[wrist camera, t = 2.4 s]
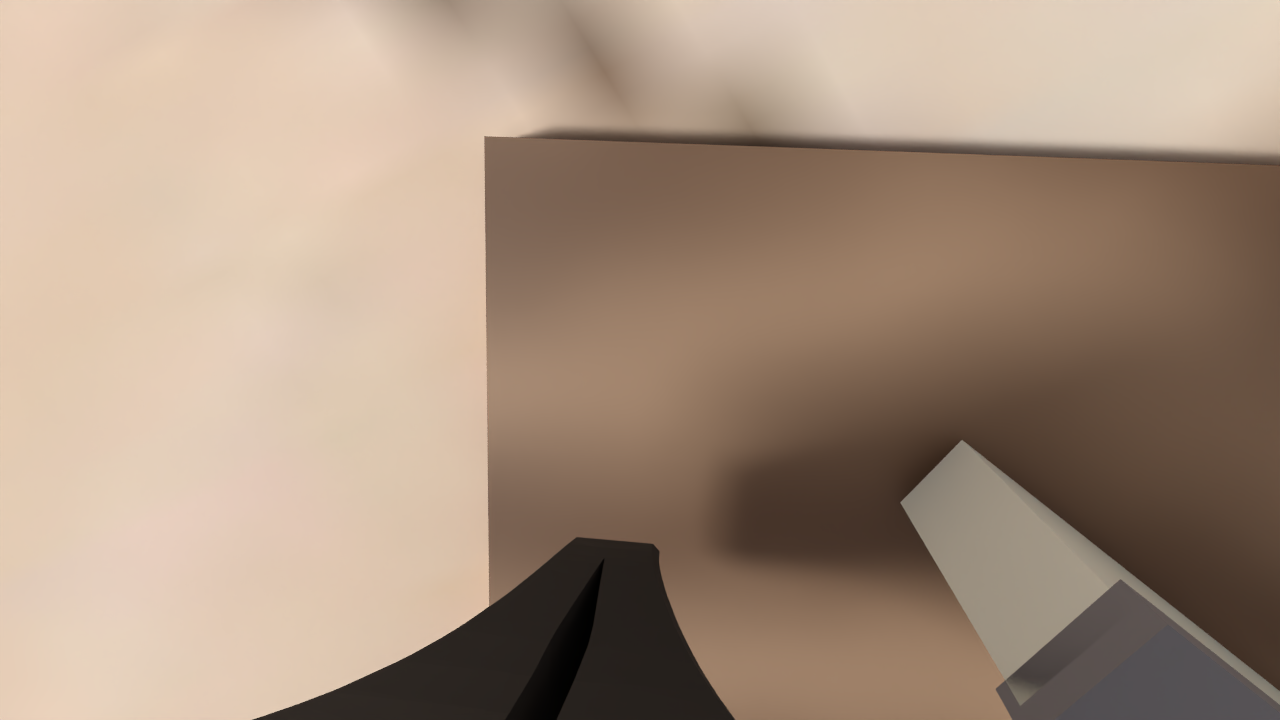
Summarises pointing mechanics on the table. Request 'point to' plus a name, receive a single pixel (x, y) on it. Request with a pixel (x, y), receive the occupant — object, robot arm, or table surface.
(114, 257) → the table surface
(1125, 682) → the panel
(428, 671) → the robot arm
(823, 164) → the brown wooden board
